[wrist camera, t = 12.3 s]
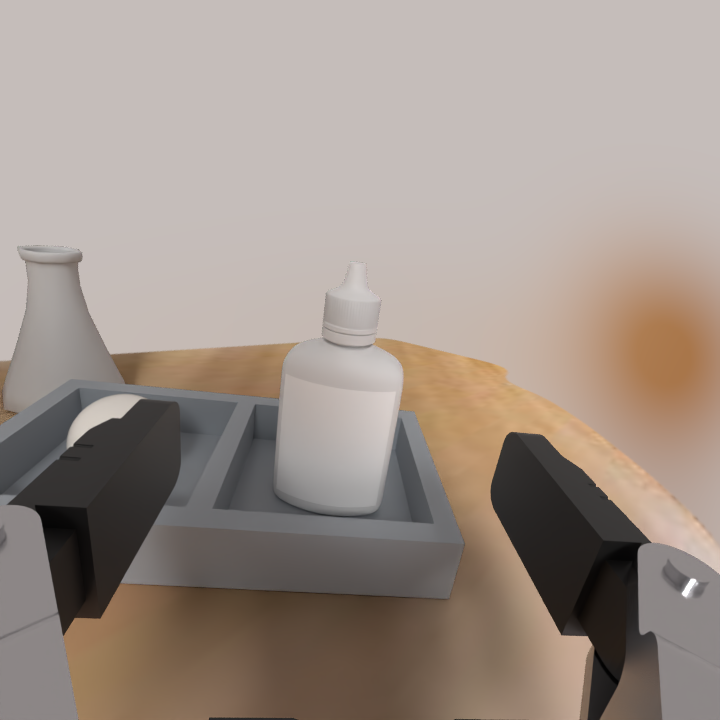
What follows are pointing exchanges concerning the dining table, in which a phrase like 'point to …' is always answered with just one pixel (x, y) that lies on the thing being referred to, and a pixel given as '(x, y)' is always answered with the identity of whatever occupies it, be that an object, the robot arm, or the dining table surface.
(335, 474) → the eye dropper bottle
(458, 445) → the dining table surface
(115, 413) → the ceramic egg
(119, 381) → the flask
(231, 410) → the holder
